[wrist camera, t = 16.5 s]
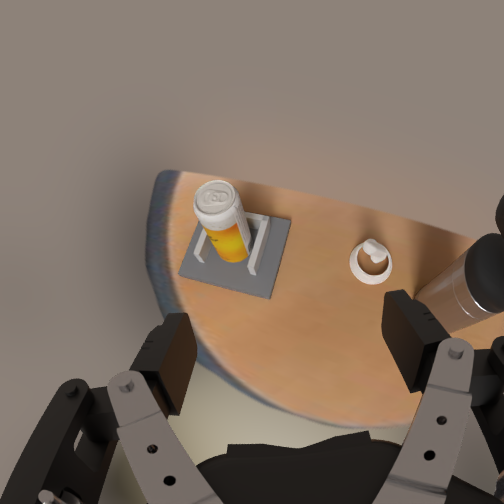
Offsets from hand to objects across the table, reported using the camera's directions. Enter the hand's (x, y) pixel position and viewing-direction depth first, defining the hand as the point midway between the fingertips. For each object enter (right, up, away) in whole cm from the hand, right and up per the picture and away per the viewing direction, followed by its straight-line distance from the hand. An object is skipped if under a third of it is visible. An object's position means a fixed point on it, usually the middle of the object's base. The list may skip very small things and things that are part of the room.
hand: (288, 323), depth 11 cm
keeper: (-4, +3, +39) cm, 40 cm away
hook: (+19, +1, +35) cm, 40 cm away
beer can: (-4, +3, +38) cm, 39 cm away
